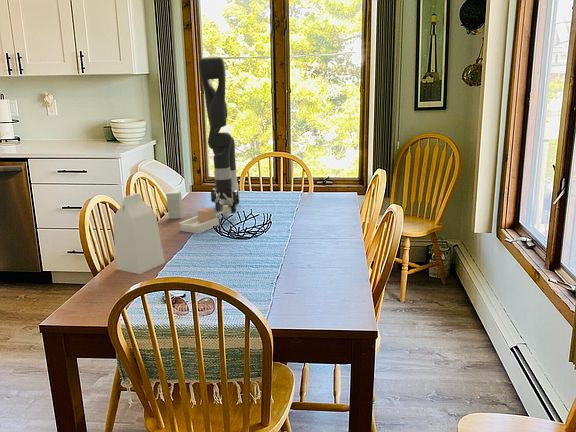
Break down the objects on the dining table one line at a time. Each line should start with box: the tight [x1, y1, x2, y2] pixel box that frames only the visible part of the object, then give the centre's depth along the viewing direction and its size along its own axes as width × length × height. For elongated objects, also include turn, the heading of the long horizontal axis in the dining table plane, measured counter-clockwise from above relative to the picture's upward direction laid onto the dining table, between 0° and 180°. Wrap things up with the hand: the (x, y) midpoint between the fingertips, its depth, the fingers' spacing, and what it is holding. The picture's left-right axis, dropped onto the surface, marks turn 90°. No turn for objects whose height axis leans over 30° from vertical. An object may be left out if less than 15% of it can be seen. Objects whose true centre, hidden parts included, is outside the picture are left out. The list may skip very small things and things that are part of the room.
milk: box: [112, 192, 166, 275], centre depth 197 cm, size 12×12×26 cm
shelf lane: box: [179, 215, 220, 234], centre depth 242 cm, size 13×11×4 cm
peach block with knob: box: [196, 205, 230, 222], centre depth 251 cm, size 17×6×6 cm, turn 148°
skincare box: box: [165, 190, 185, 219], centre depth 260 cm, size 6×4×12 cm
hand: (225, 212), depth 257 cm, fingers open, 8 cm apart
